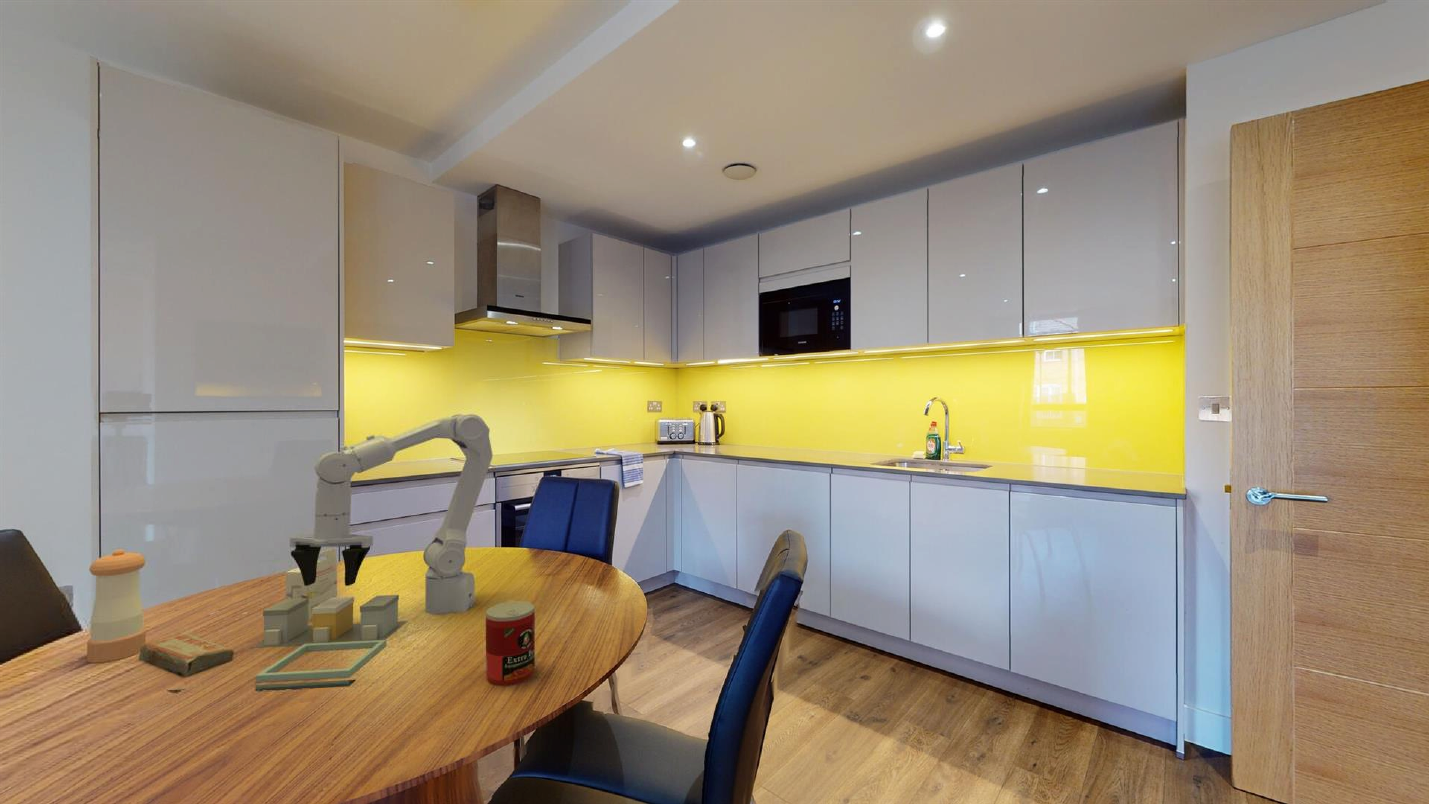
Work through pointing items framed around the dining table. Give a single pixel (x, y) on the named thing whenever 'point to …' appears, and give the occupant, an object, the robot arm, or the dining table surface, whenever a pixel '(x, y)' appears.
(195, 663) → the packaged product
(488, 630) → the canned food
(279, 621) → the block
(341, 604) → the block
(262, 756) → the dining table surface
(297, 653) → the parts tray
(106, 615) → the pepper shaker
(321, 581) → the ink cartridge box
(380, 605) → the block
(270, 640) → the block
